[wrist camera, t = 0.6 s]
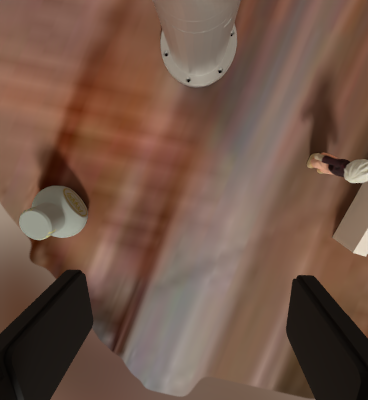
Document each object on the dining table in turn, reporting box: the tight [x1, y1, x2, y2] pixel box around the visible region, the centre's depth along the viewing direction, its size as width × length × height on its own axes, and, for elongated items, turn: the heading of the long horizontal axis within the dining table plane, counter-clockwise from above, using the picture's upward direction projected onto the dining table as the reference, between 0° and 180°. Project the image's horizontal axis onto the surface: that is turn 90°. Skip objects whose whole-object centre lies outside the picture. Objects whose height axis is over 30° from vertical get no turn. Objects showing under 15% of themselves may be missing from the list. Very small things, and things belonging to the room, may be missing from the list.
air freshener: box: [19, 186, 88, 240], centre depth 40 cm, size 11×8×10 cm
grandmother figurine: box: [307, 152, 368, 183], centre depth 33 cm, size 8×4×13 cm, turn 71°
